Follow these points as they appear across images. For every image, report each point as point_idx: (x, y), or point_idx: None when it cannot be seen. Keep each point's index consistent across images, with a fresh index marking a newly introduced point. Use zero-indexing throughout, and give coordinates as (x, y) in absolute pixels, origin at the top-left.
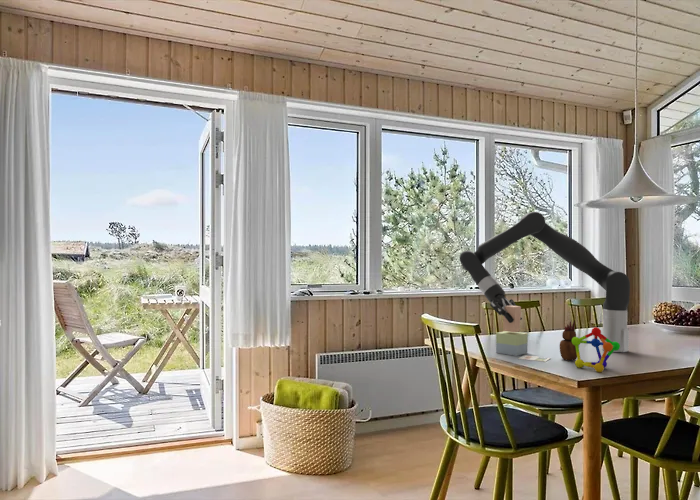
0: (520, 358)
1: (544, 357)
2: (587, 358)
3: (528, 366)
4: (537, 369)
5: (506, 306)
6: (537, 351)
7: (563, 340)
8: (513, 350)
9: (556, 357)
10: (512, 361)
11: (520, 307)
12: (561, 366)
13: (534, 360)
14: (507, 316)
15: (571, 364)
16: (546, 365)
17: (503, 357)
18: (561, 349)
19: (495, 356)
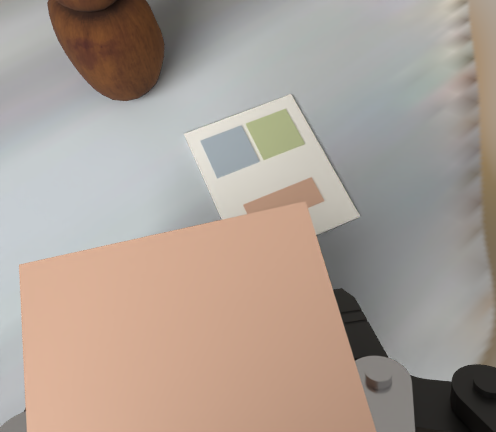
0: (353, 205)
1: (196, 161)
2: (4, 59)
3: (458, 68)
4: (465, 15)
5: (373, 426)
6: (20, 333)
7: (120, 9)
8: None
9: (118, 145)
10: (448, 182)
11: (50, 267)
12: (306, 8)
13: (315, 139)
14: (372, 342)
15: (223, 13)
16: (354, 47)
17: (414, 292)
18: (160, 46)
19: (442, 344)
